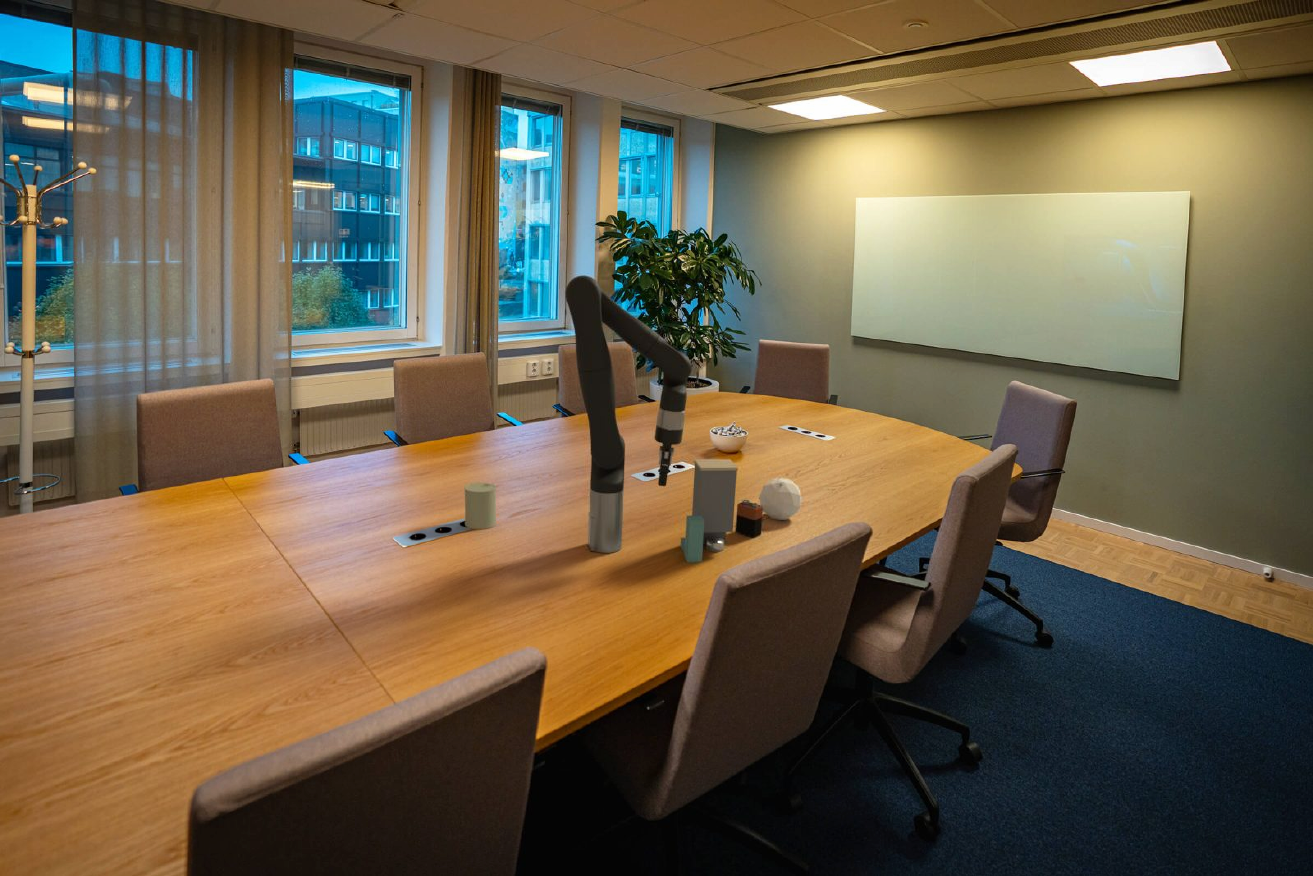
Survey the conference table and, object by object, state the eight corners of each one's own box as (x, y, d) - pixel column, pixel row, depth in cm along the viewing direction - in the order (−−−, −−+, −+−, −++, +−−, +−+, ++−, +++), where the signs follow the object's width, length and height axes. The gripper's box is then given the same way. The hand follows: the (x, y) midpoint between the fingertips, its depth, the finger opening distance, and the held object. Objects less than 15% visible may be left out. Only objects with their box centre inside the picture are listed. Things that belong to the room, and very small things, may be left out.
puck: (708, 552, 226) (708, 544, 225) (704, 545, 230) (704, 537, 230) (725, 552, 227) (726, 543, 226) (721, 545, 231) (721, 537, 231)
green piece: (687, 562, 218) (689, 520, 215) (678, 546, 229) (680, 506, 226) (701, 562, 218) (704, 520, 215) (692, 545, 230) (694, 505, 227)
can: (502, 523, 241) (502, 485, 238) (480, 531, 234) (480, 492, 231) (480, 516, 246) (480, 479, 243) (458, 524, 238) (457, 486, 235)
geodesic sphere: (807, 512, 245) (806, 470, 250) (762, 510, 245) (761, 468, 250) (799, 526, 258) (798, 486, 263) (756, 524, 258) (756, 484, 263)
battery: (743, 528, 245) (745, 497, 243) (761, 534, 241) (764, 503, 238) (734, 532, 242) (736, 500, 239) (753, 538, 238) (755, 506, 235)
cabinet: (696, 553, 224) (700, 467, 218) (689, 542, 232) (694, 459, 226) (732, 552, 226) (737, 467, 220) (724, 541, 234) (730, 459, 228)
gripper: (657, 417, 227) (649, 471, 231) (655, 429, 213) (647, 487, 217) (683, 420, 227) (675, 474, 231) (683, 433, 213) (675, 490, 217)
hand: (662, 480), depth 224 cm, fingers open, 8 cm apart
